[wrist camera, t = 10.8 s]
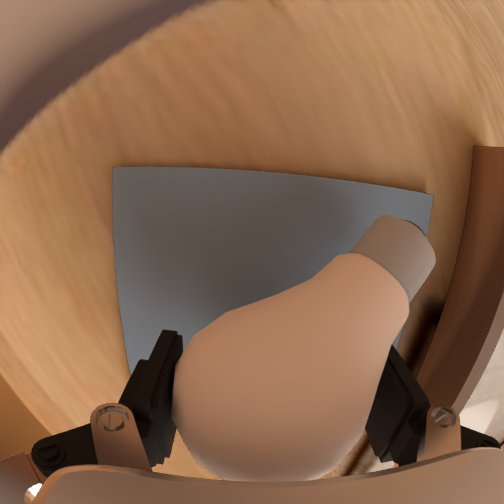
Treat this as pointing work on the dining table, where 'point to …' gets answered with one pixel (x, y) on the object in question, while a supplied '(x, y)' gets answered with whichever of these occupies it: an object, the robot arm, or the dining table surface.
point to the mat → (231, 240)
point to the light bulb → (300, 363)
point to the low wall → (471, 292)
